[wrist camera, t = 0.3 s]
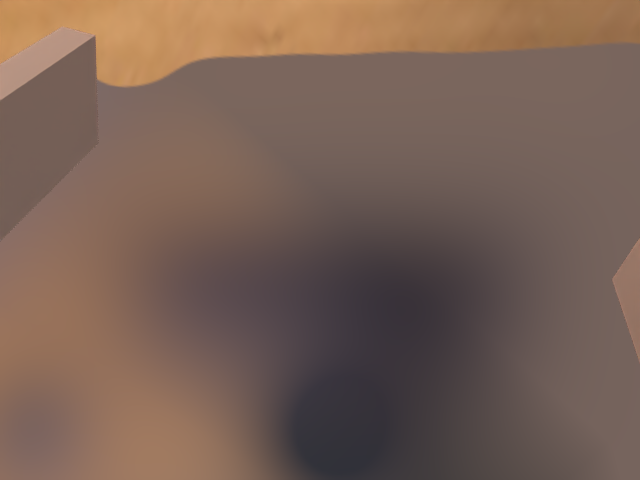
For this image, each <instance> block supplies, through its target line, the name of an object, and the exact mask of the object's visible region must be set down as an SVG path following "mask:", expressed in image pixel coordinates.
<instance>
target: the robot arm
mask: <svg viewBox="0 0 640 480" xmlns="http://www.w3.org/2000/svg"><path fill="white" fill-rule="evenodd" d="M97 144H98V110H97V75H96V41H95V35H92V34H89V33H85V32H81V31H77V30H73V29H70V28H66V27H61V28H59V29H57V30H56V31H54V32H52V33H51V34H49V35H47V36H46V37H44V38H42V39H41V40H39V41H38V42H36V43H34V44H33V45H31V46H29V47H28V48H26V49H24V50H23V51H21V52H19V53H18V54H16V55H14V56H13V57H11V58H9V59H8V60H6V61H4V62H3V63H1V64H0V241H1V240H2V239H3V238H4V237H5V236H6V235H7V234H8V233H9V232H10V231H11V230H12V229H13V228H14V227H15V226H16V225H17V224H18V223H19V222H20V221H21V220H22V219H23V218H24V217H25V216H26V215H27V214H28V213H29V212H30V211H31V210H32V209H33V208H34V207H35V206H36V205H37V204H38V203H39V202H40V201H41V200H42V199H43V198H44V197H45V196H46V195H47V194H48V193H49V192H50V191H51V190H52V189H53V188H54V187H55V186H56V185H57V184H58V183H59V182H60V181H61V180H62V179H63V178H64V177H65V176H66V175H67V174H68V173H69V172H70V171H71V170H72V169H73V168H74V167H75V166H76V165H77V164H78V163H79V162H80V161H81V160H82V159H83V158H84V157H85V156H86V155H87V154H88V153H89V152H90V151H91V150H92V149H93V148H94V147H95V146H96V145H97ZM612 281H613V284H614V287H615V291H616V294H617V296H618V300H619V303H620V306H621V309H622V312H623V315H624V318H625V320H626V324H627V327H628V330H629V332H630V336H631V339H632V342H633V345H634V348H635V350H636V354H637V357H638V360H639V363H640V238H639V239H638V241H637V242H636V244H635V245H634V247H633V248H632V250H631V251H630V253H629V254H628V256H627V257H626V259H625V261H624V262H623V263H622V265H621V267H620V268H619V269H618V271H617V272H616V274H615V275H614V277H613V279H612Z"/></svg>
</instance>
